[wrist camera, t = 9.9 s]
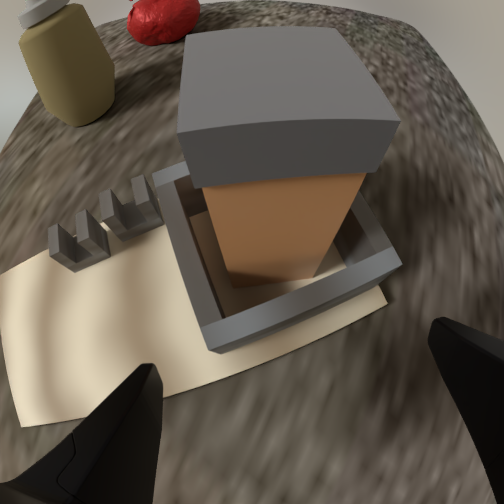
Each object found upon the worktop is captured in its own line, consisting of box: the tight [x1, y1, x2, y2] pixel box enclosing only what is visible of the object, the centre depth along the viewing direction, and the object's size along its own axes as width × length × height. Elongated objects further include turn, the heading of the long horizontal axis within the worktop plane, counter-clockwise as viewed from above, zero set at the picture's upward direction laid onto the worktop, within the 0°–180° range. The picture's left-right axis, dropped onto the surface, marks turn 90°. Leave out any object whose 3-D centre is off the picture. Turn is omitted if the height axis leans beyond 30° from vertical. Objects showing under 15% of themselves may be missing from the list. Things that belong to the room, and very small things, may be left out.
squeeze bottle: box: [18, 0, 115, 127], centre depth 17 cm, size 8×8×18 cm
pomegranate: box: [127, 0, 200, 46], centre depth 26 cm, size 10×10×9 cm
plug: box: [177, 26, 401, 288], centre depth 12 cm, size 5×5×12 cm
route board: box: [0, 161, 402, 427], centre depth 15 cm, size 26×12×5 cm, turn 112°
